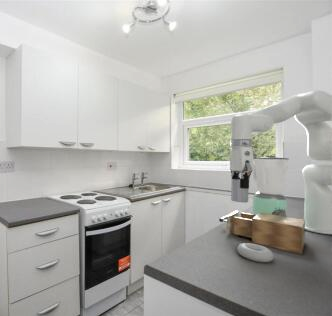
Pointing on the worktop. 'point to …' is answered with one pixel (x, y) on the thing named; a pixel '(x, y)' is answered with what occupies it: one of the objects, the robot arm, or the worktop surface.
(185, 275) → the worktop surface
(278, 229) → the cabinet
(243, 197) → the measuring cup
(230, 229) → the drawer
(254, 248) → the donut
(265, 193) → the juicer
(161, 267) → the worktop surface
